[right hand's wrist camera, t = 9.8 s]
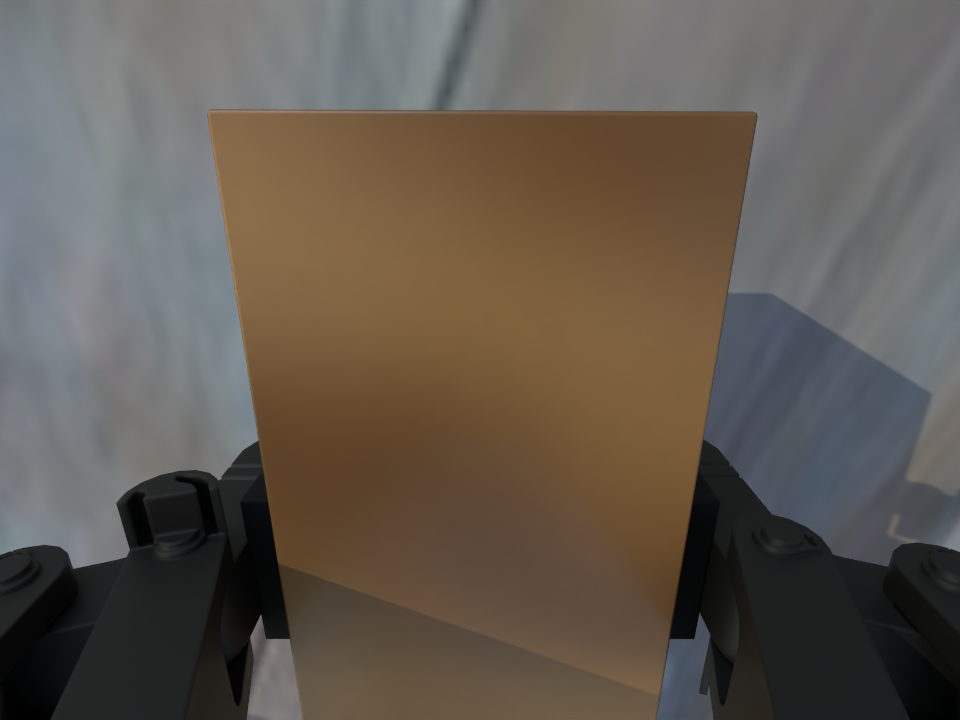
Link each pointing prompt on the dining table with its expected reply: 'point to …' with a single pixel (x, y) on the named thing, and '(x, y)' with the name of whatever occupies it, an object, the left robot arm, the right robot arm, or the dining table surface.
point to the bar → (480, 393)
